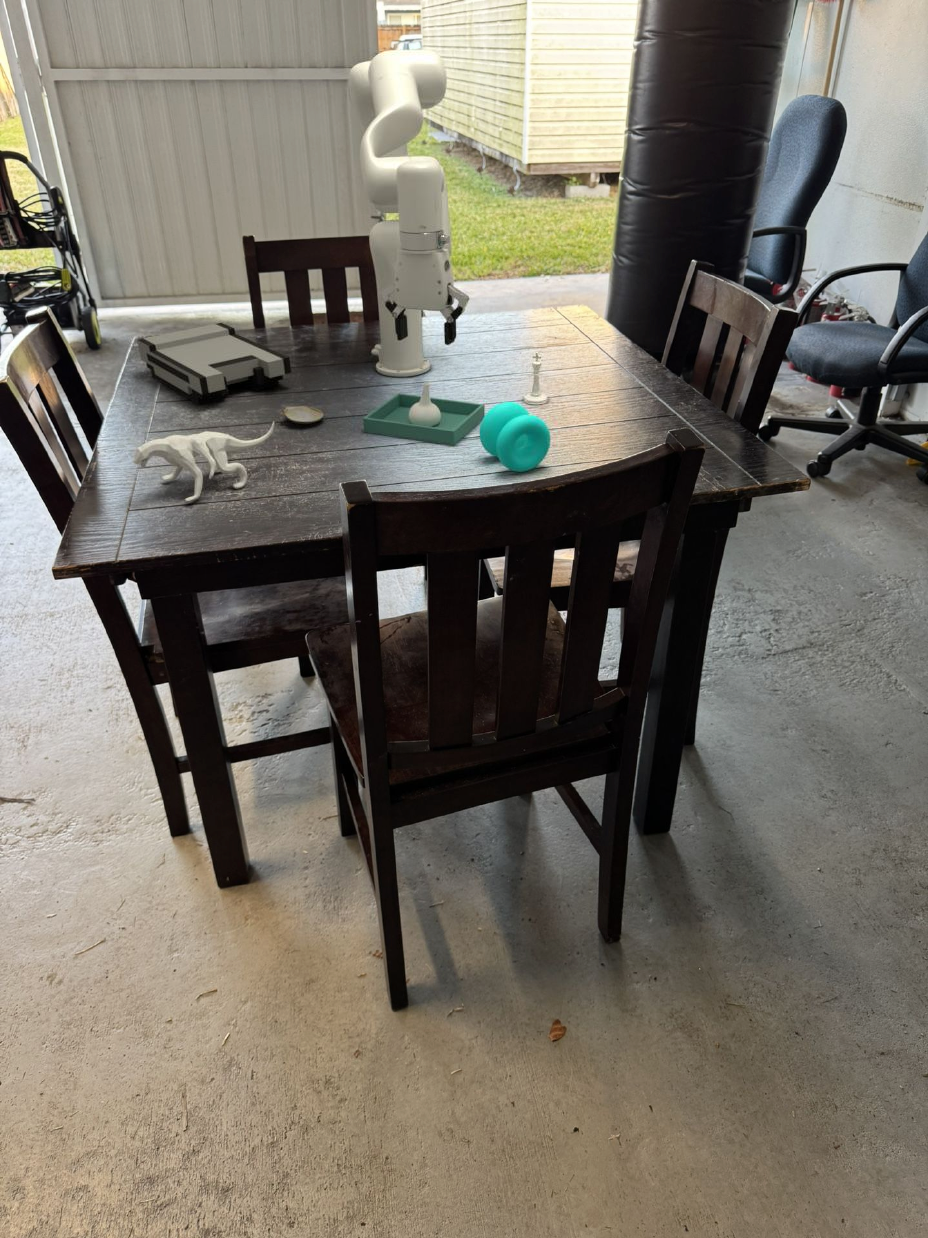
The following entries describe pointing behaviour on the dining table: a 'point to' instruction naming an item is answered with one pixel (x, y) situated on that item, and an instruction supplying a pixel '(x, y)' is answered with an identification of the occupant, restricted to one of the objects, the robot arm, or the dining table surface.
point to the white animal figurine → (205, 444)
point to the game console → (211, 362)
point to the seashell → (302, 414)
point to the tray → (448, 431)
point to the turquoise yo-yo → (514, 436)
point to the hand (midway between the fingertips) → (426, 340)
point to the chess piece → (536, 385)
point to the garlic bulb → (425, 410)
